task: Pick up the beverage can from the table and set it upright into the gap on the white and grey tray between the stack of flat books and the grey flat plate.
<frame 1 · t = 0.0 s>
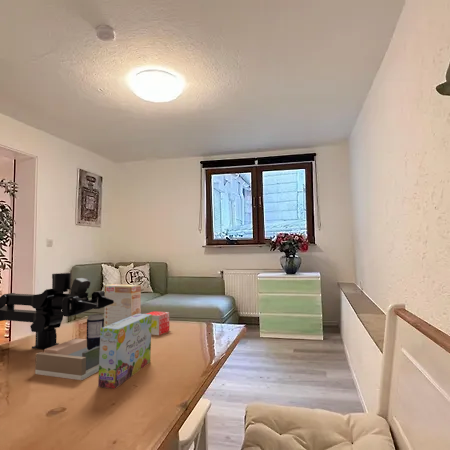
hand: (105, 303, 116), 17 cm above the table, tool horizontal, fingers open, 9 cm apart
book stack: (66, 364, 103), resting on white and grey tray
coffeecake box: (122, 329, 148), on the table
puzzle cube: (156, 332, 143), on the table
snack box: (127, 374, 96), on the table
grey flat plate: (97, 368, 100), resting on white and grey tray
beverage can: (94, 350, 118), on the table
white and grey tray: (80, 366, 102), on the table
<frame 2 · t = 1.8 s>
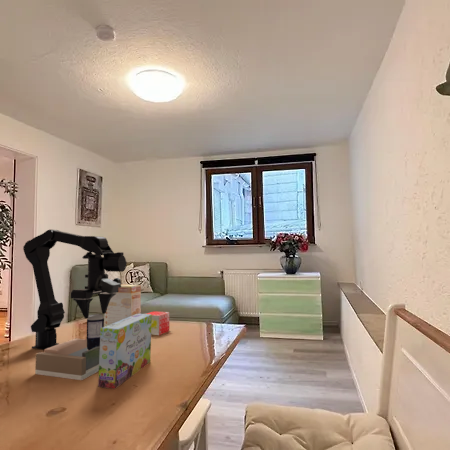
hand: (95, 315, 119), 12 cm above the table, tool pointing down, fingers open, 9 cm apart
nothing on the table moved.
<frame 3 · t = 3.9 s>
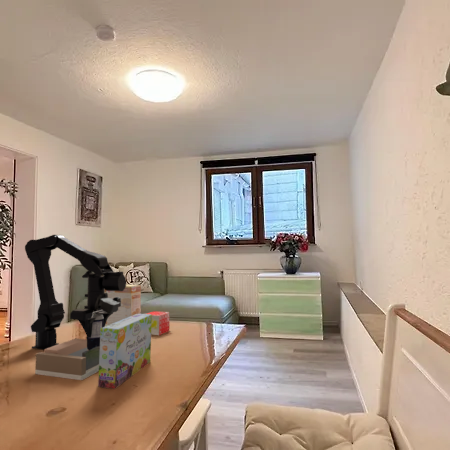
hand: (95, 335, 119), 5 cm above the table, tool pointing down, fingers closed on beverage can, 6 cm apart
beverage can: (94, 350, 118), on the table, touching gripper
everything else where it was.
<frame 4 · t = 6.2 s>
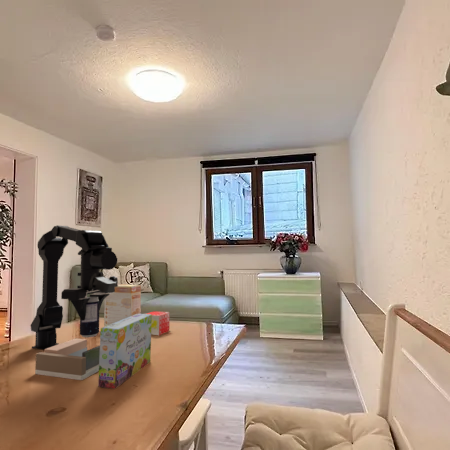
hand: (89, 318, 107), 13 cm above the table, tool pointing down, fingers closed on beverage can, 6 cm apart
beverage can: (89, 336, 107), point 8 cm above the table, touching gripper
everything else where it was.
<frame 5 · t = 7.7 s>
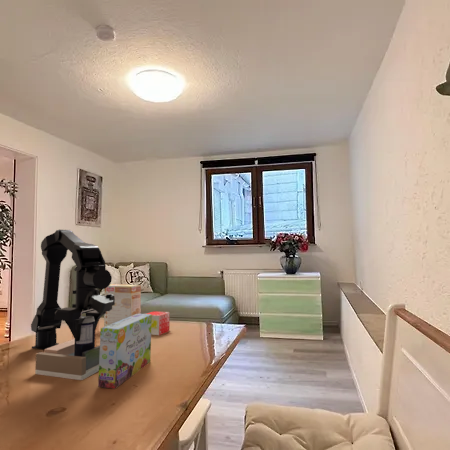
hand: (84, 338, 102), 8 cm above the table, tool pointing down, fingers closed on beverage can, 6 cm apart
beverage can: (84, 358, 102), point 2 cm above the table, touching gripper
everything else where it was.
when the fingers open (8 cm above the table, at t = 8.7 s): beverage can stays where it is, resting on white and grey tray.
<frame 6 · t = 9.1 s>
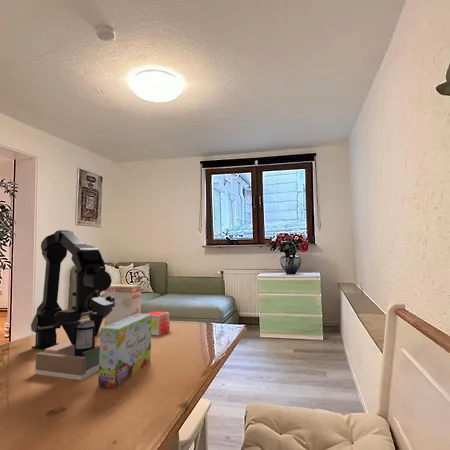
hand: (84, 340, 102), 8 cm above the table, tool pointing down, fingers open, 9 cm apart
beverage can: (84, 363, 102), point 1 cm above the table, touching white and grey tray
everything else where it was.
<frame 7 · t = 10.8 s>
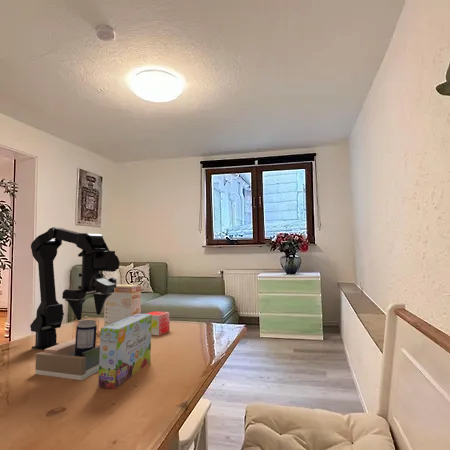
hand: (89, 317, 113), 13 cm above the table, tool pointing down, fingers open, 9 cm apart
nothing on the table moved.
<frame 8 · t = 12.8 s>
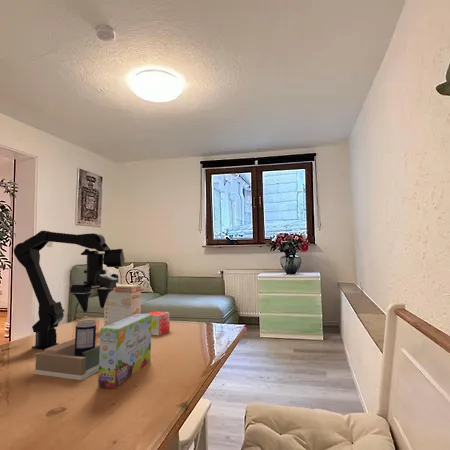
hand: (94, 309, 124), 13 cm above the table, tool pointing down, fingers open, 9 cm apart
nothing on the table moved.
at the end: beverage can 0.1 cm from the target spot on the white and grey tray, point 1.1 cm above the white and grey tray's base; beverage can tilted 2°; the gripper is holding nothing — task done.
